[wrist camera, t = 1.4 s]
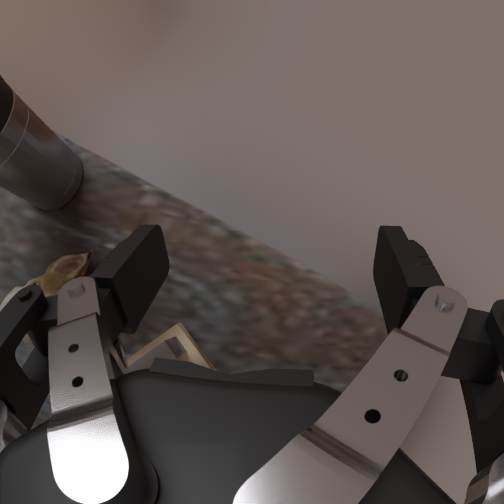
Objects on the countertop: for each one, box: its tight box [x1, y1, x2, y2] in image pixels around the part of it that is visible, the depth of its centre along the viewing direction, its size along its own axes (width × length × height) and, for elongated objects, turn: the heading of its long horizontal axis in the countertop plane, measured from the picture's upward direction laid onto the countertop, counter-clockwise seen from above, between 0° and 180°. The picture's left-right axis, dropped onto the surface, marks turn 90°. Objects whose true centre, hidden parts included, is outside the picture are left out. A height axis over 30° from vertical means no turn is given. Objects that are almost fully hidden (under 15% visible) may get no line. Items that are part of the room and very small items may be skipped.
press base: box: [126, 322, 217, 372], centre depth 29 cm, size 24×10×7 cm, turn 36°
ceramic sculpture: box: [0, 250, 93, 344], centre depth 31 cm, size 11×9×15 cm
